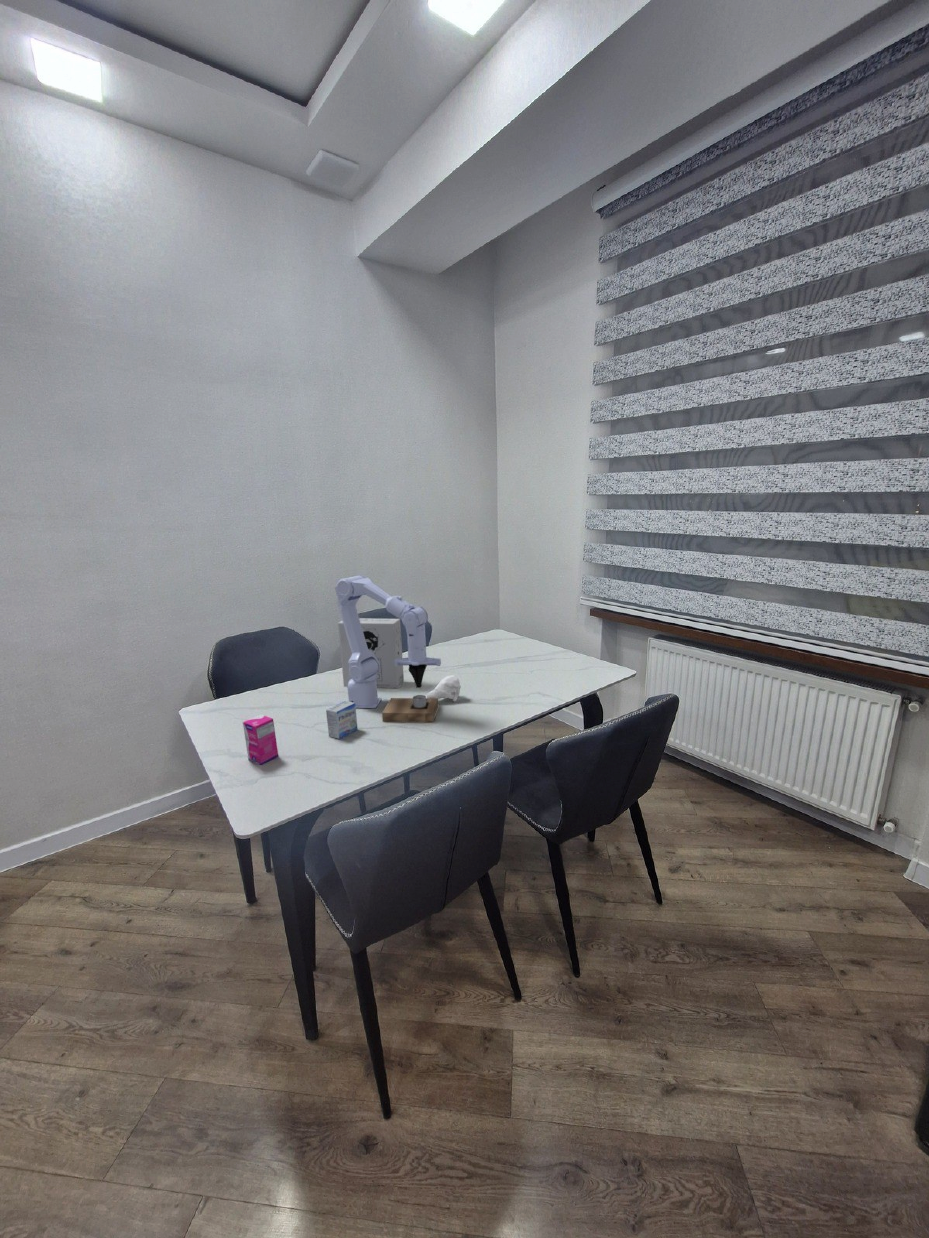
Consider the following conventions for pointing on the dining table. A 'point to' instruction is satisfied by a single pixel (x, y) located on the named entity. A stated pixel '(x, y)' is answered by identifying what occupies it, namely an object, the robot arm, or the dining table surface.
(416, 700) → the grey dome knob
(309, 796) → the dining table surface
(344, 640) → the cereal box
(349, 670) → the robot arm
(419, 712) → the jig
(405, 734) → the dining table surface
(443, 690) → the white lumpy piece
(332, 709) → the medicine box
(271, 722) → the supplement box
